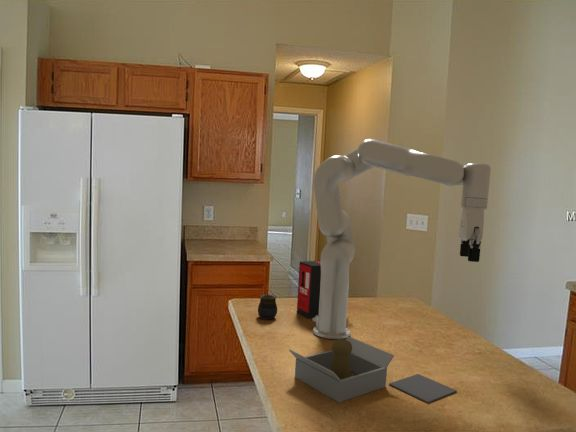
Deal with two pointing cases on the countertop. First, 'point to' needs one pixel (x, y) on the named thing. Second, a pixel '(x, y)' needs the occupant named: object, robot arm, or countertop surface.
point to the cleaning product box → (309, 289)
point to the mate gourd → (267, 307)
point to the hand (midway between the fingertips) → (469, 258)
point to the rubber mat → (423, 388)
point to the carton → (362, 362)
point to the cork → (341, 358)
